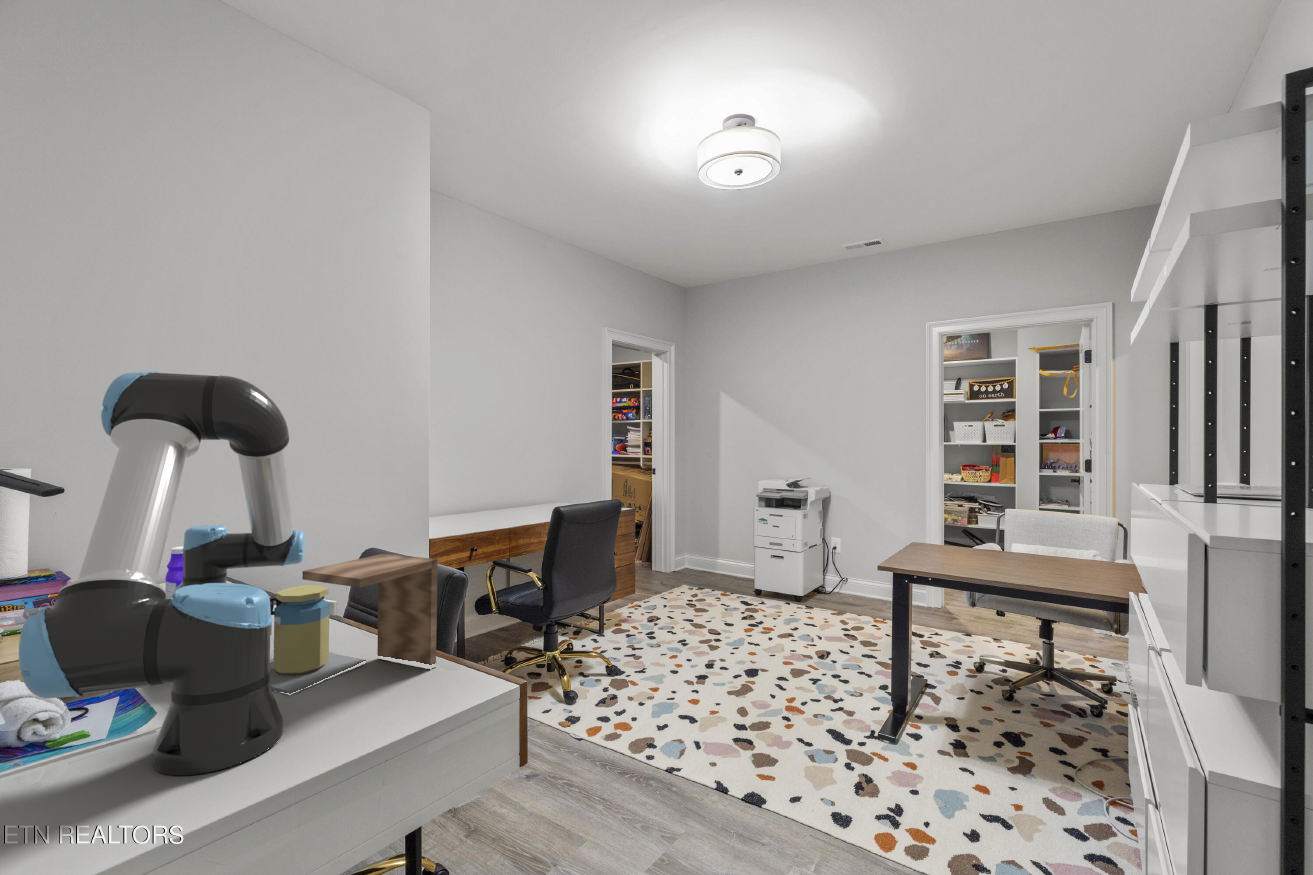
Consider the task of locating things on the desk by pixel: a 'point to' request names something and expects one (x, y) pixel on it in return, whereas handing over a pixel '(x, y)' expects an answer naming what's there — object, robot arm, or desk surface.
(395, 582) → the shelf
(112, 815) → the desk surface
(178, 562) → the bottle
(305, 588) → the jar
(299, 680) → the mat
